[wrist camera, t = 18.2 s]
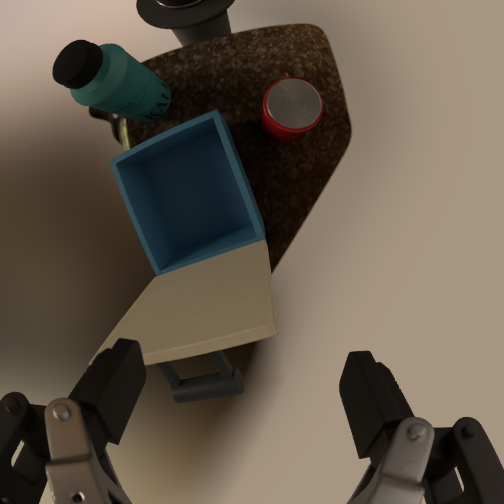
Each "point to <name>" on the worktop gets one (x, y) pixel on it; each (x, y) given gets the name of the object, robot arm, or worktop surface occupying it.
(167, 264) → the cool box
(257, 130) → the worktop surface
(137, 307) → the lid
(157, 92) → the beverage bottle
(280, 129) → the can
